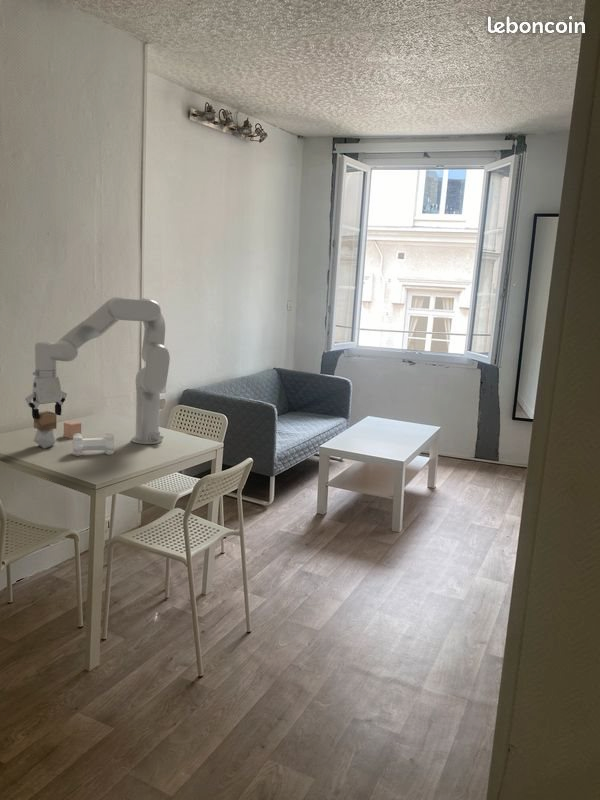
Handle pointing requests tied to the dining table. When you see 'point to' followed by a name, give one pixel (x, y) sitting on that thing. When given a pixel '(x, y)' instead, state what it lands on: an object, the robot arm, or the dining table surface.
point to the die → (45, 438)
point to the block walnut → (45, 421)
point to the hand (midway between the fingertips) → (47, 416)
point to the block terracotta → (71, 428)
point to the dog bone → (93, 444)
